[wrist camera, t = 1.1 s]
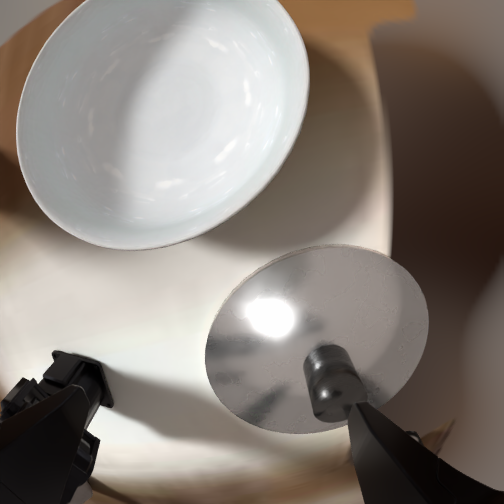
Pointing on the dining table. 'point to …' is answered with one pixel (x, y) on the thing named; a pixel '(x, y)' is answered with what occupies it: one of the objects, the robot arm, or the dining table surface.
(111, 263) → the dining table surface
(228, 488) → the dining table surface
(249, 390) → the steel lid
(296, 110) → the cereal bowl
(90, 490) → the coffee pot
